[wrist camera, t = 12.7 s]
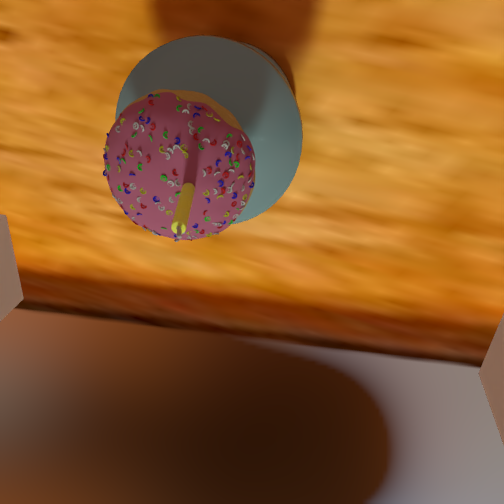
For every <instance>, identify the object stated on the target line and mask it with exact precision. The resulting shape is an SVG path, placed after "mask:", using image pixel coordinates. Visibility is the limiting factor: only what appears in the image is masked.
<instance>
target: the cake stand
mask: <svg viewBox="0 0 504 504" xmlns="http://www.w3.org/2000/svg"><path fill="white" fill-rule="evenodd" d="M158 89H167V90H186V91H195V92H199V93H203V94H205V95H207V96H209V97H210V98H212V99H213V100H215V101H216V102H217V103H218V104H220V105H221V106H223V107H224V108H226V109H227V110H229V111H230V112H231V113H232V114H233V115H234V117H235V118H236V120H237V121H238V123H239V124H240V126H241V128H242V129H243V131H244V133H245V134H246V135H247V136H248V138H249V140H250V142H251V144H252V147H253V150H254V153H255V186H254V189H253V192H252V194H251V197H250V199H249V201H248V203H247V205H246V207H245V208H244V210H243V211H242V213H241V214H240V215H239V216H238V217H237V218H236V220H235V221H234V222H233V223H232V224H236V223H239V222H243V221H246V220H249V219H251V218H253V217H256V216H258V215H259V214H261V213H263V212H264V211H266V210H267V209H268V208H270V207H271V206H272V205H273V204H275V203H276V202H277V200H278V199H279V198H280V197H281V196H282V195H283V194H284V192H285V191H286V190H287V188H288V187H289V185H290V183H291V181H292V179H293V178H294V176H295V173H296V170H297V167H298V165H299V160H300V155H301V150H302V139H303V131H302V120H301V115H300V110H299V107H298V104H297V101H296V98H295V96H294V94H293V92H292V89H291V86H290V83H289V81H288V79H287V77H286V75H285V73H284V72H283V70H282V69H281V67H280V66H279V65H278V64H277V62H276V61H275V60H274V59H273V58H272V57H271V56H269V55H268V54H267V53H266V52H264V51H263V50H261V49H259V48H257V47H255V46H253V45H251V44H248V43H245V42H240V41H235V40H232V39H229V38H225V37H220V36H214V35H197V36H188V37H185V38H181V39H177V40H174V41H171V42H169V43H167V44H165V45H162V46H160V47H158V48H157V49H155V50H154V51H152V52H150V53H149V54H148V55H147V56H146V57H144V58H143V59H142V60H141V61H140V62H139V63H138V64H137V65H136V67H135V68H134V69H133V70H132V71H131V73H130V75H129V76H128V78H127V79H126V81H125V83H124V86H123V88H122V90H121V92H120V96H119V100H118V103H117V109H116V120H117V118H118V117H119V115H120V113H122V111H123V110H124V109H125V108H126V107H127V106H128V105H129V104H130V103H132V102H133V101H135V100H137V99H138V98H140V97H142V96H145V95H147V94H149V93H151V92H153V91H155V90H158Z"/></svg>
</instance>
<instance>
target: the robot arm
mask: <svg viewBox="0 0 504 504" xmlns="http://www.w3.org/2000/svg"><path fill="white" fill-rule="evenodd" d="M23 299H24V298H23V294H22V289H21V284H20V279H19V275H18V270H17V265H16V260H15V255H14V251H13V246H12V241H11V236H10V232H9V227H8V222H7V217H6V215H0V321H1V320H2V319H3V318H4V317H5V316H6V315H7V314H8V313H9V312H10V311H11V310H12V309H14V308H15V307H16V306H17V305H18V304H19V303H20V302H21V301H22V300H23ZM479 376H480V379H481V382H482V385H483V387H484V390H485V393H486V396H487V399H488V402H489V404H490V407H491V410H492V413H493V416H494V419H495V422H496V424H497V427H498V430H499V433H500V436H501V439H502V442H503V444H504V314H503V316H502V319H501V321H500V324H499V326H498V328H497V331H496V333H495V336H494V338H493V340H492V343H491V345H490V347H489V350H488V352H487V355H486V357H485V359H484V362H483V364H482V366H481V369H480V371H479Z"/></svg>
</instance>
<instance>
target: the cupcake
mask: <svg viewBox="0 0 504 504" xmlns="http://www.w3.org/2000/svg"><path fill="white" fill-rule="evenodd" d="M103 149H104V151H105V154H103V157H104V163H105V170H104V171H103V175H104V176H106V177H107V181H108V184H109V187H110V190H111V192H112V195H113V197H114V198H115V199H116V201H117V203H118V204H119V205H120V207H121V208H122V209H123V210H124V213H125V214H126V215H127V216H128V217H129V218H130V219H131V220H132V221H133V222H134V223H135V224H136V225H140V226H142V228H143V229H144V230H145V231H146V229H148V230H149V231H150V232H152V233H153V234H154V235H160V236H161V235H162V236H165V237H169V238H174V239H175V242H177V241H179V240H191V241H192V239H199V238H203V237H207V236H208V237H209V236H211V235H214V234H219V232H221V231H223V230H224V229H226V228H227V227H228V226H230V225H231V224H232V223H233V222H234V221H235V220H236V218H237V217H238V216H239V215H240V214H241V213H242V211H243V210H244V208H245V207H246V205H247V203H248V201H249V199H250V197H251V194H252V192H253V189H254V186H255V153H254V150H253V147H252V144H251V142H250V140H249V138H248V136H247V135H246V134H245V133H244V131H243V129H242V128H241V126H240V124H239V123H238V121H237V120H236V118H235V117H234V115H233V114H232V113H231V112H230V111H229V110H227V109H226V108H224V107H223V106H221V105H220V104H218V103H217V102H216V101H215V100H213V99H212V98H210V97H209V96H207V95H205V94H203V93H199V92H195V91H186V90H167V89H158V90H155V91H153V92H151V93H149V94H147V95H145V96H142V97H140V98H138V99H137V100H135V101H133V102H132V103H130V104H129V105H128V106H127V107H126V108H125V109H124V110H123V111H122V113H120V115H119V117H118V118H117V120H116V121H115V123H114V124H113V126H112V128H111V130H110V132H109V134H108V133H107V140H106V144H105V148H103ZM105 172H106V175H105V174H104V173H105ZM145 228H146V229H145ZM176 239H177V241H176Z"/></svg>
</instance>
